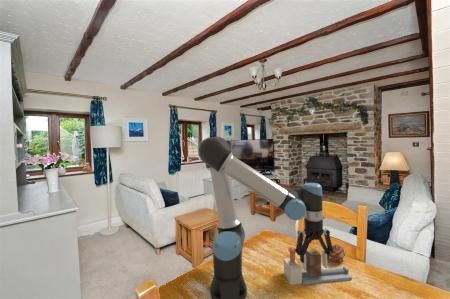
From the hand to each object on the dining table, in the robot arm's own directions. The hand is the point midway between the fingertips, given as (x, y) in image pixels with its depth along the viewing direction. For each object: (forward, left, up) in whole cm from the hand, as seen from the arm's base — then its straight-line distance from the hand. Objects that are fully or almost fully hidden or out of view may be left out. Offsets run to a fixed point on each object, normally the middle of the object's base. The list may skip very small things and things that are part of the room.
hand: (314, 267), depth 96 cm
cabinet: (-10, +1, -5) cm, 11 cm away
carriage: (-1, 0, -2) cm, 2 cm away
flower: (+17, +11, -5) cm, 21 cm away
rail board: (+4, 0, -5) cm, 6 cm away
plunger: (-10, +1, +3) cm, 10 cm away
